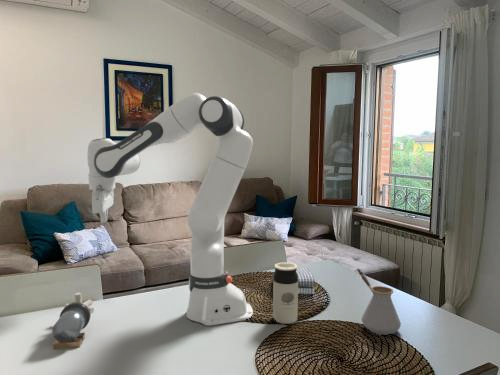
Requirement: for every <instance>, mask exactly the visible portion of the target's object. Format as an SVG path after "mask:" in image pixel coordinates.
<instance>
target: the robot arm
mask: <svg viewBox="0 0 500 375" xmlns="http://www.w3.org/2000/svg"><path fill="white" fill-rule="evenodd" d="M202 126H204V127H205V128H206V129H207V130H209V131H210V132H211V133H212V134H213V135H214V136H215V137H218V141H219V142H218V145H217V148H216V151H215V153H214V155H213V158H212V160H211V163H210V165H209V167H208V169H207V172H206V174H205V176H204V179H203V181H202V182H201V185H200V187H199V189H198V191H197V193H196V195H195V197H194V200H193V201H192V204H191V206H190V209H189V211H188V213H187V224H188V229H189V230H190V231H191V238H190V240H191V241H190V253H189V255H190V256H189V257H190V260H189V262H190V272H189V276H188V289H189V291H190V292H189V298H188V299H189V300H188V305H187V310H186V312H185V315H186V318H188V319H189V320H191V321H193V322H197V323H201V324H203V325H205V326H207V327H210V326H216V325H217V326H218V325H221V324H229V323H235V322H240V321H241V322H242V321H247V320H246V319H248V320H250V319H249V318H251V316H252V315H253V316H254V309H253V306H252V305H251V304H250V303H249V302H247V300H246V296H245V294H244V292H243V290H241V289H240V288H238V287H237V286H235V285H234V284H233V283H232V282H233V277H232V276H231V275H230V274H229V272H228V271H225V270H224V266H225V265H224V263H225V262H224V261H225V260H224V256H225V255H224V254H225V253H224V251H225V249H224V246H225V217H226V216H227V215H226V214H227V213H228V210H229V208H230V206H231V203H232V201H233V198H234V196H235V194H236V192H237V189H238V187H239V185H240V182H241V180H242V177H243V175H244V173H245V171H246V169H247V166H248V164H249V160H250V159H251V158H250V157H251V154H252V149H253V145H254V140H253V137H252V135H250V134H249V132H247V131H245V130H243V129H244V128H245V127H244V126H245V117H244V115H243V113H242V111H241V110H240V109H239V108H237V107H236V104H233V103H232V102H231V101H229V100H228V99H226V98H224V97H222V96H218V95H216V96H215V95H213V96H209V97H206V96H205V95H203V94H201V93H199V92H193V93H190V94H188V95H186V96H184V97H182V98H181V99H179V100H177V101H175V102H174V103H172V105H170V106H169V107H167V108H166V109H165V110H164V111H163V112H161V113H160V114H158V115H157V116H155V117H154V119H151V120H150V121H149V122H147V123H146V124H145V125H144V126H142V127H141V128H139V129H138V130H136V131H134V132H133V133H131V134H129V135H128V136H125V138H123V139H121V140H120V141H119V142H117V143H116V142H115V141H113V140H112V139H111V138H108V137H103V138H96V139H92V140H91V141H90V142H89V143H88V146H87V153H86V154H87V155H86V156H87V166H88V171H89V172H88V189H89V190H90V191H92V192H91V209H92V210H91V211H92V213H93V214H99V217H100V223H101V224H102V223H106V222H108V213H109V209H110V208H111V207H112V206H114V200H115V199H114V197H115V189H116V177H118V176H119V177H121V176H125V175H126V176H127V175H130V174H134V173H135V172H137V171H138V169H139V168H140V165H141V158H140V155H139V154H140V153H141V152H143V151H145V150H147V149H148V148H150V147H153V146H157V145H161V144H168V143H169V144H170V143H175V142H177V141H180V140H182V139H183V138H185V137H187V136H188V135H190V134H191V133H192V132H194V131H195V130H197V129H198V128H200V127H202ZM253 316H252V317H253ZM251 319H252V318H251Z"/></svg>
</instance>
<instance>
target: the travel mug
mask: <svg viewBox="0 0 500 375" xmlns="http://www.w3.org/2000/svg"><path fill="white" fill-rule="evenodd" d="M297 268H298V265H297V264H295V263H293V262H278V263H275V264H274V273H273V276H272V283H273V285H272V286H273V288H272V289H273V290H272V291H273V292H272V293H273V294H272V298H273V299H272V302H273V303H272V319H273V318H274V319H275V320H276V321H275V320H274V319H273V320H274V321H275V322H276V323H279V324H283V325H284V324H286V325H290V324H292V323H295V322H297V321H298V308H299V307H298V304H299V302H298V301H299V298H298V297H299V295H298V275H297V273H296V269H297ZM275 270H276V271H275Z"/></svg>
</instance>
